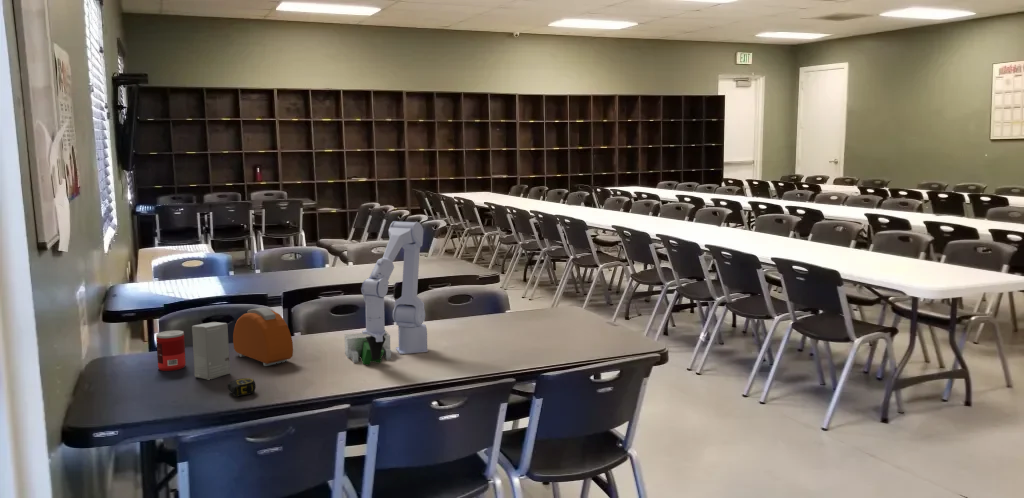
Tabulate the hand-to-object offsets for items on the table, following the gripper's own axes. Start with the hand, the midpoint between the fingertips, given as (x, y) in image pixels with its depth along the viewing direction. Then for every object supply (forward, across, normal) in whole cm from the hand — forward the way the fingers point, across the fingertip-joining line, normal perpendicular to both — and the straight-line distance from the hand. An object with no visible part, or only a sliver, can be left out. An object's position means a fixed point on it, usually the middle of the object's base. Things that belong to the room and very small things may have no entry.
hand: (375, 359), depth 236 cm
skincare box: (+3, -7, -48) cm, 49 cm away
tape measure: (+3, +14, -40) cm, 43 cm away
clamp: (+3, -7, 0) cm, 8 cm away
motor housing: (+2, -13, 0) cm, 13 cm away
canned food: (+3, -20, -60) cm, 63 cm away
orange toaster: (+3, -21, -33) cm, 39 cm away
